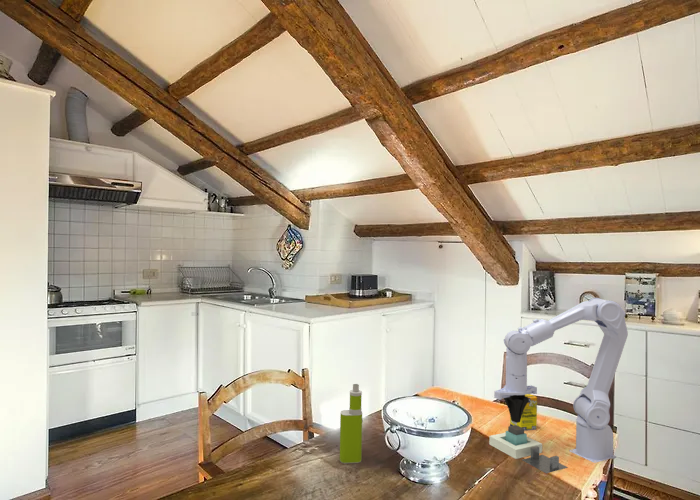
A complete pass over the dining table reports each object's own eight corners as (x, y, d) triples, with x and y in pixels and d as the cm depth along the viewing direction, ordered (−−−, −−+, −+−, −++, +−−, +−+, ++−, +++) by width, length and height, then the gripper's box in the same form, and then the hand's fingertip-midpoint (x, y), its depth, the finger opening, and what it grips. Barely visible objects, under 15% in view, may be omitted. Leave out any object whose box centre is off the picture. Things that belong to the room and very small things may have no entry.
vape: (362, 462, 115) (364, 386, 115) (340, 463, 114) (342, 387, 114) (360, 456, 118) (362, 382, 119) (338, 457, 118) (340, 383, 118)
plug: (515, 446, 127) (515, 424, 127) (526, 452, 123) (526, 429, 123) (505, 449, 125) (505, 426, 125) (516, 455, 121) (516, 431, 121)
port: (514, 440, 131) (514, 430, 131) (542, 454, 122) (542, 443, 122) (489, 446, 127) (489, 435, 127) (515, 461, 118) (516, 449, 118)
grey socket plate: (542, 456, 120) (542, 443, 121) (568, 469, 113) (568, 455, 113) (521, 461, 117) (521, 448, 117) (546, 475, 110) (546, 461, 110)
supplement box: (521, 433, 137) (521, 398, 137) (509, 425, 143) (510, 392, 143) (537, 431, 138) (537, 396, 139) (525, 424, 144) (525, 391, 144)
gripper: (523, 368, 131) (523, 413, 131) (486, 372, 125) (486, 419, 125) (543, 373, 125) (542, 421, 125) (505, 378, 119) (504, 428, 118)
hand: (515, 421), depth 124 cm, fingers closed
